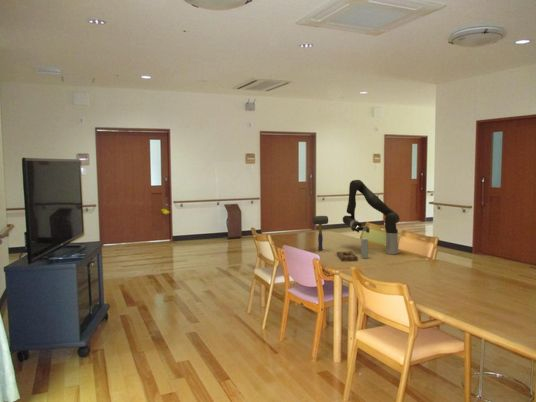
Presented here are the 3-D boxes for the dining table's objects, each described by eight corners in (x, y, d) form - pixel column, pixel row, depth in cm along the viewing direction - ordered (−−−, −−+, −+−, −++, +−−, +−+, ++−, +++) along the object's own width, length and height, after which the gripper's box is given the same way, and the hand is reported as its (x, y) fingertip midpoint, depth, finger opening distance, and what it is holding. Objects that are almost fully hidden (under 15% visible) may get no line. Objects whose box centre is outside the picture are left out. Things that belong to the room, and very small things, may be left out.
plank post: (366, 256, 333) (366, 238, 331) (367, 258, 328) (368, 239, 326) (361, 257, 333) (361, 238, 331) (362, 258, 328) (362, 239, 326)
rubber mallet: (325, 249, 363) (326, 214, 360) (328, 251, 355) (328, 216, 352) (312, 250, 360) (312, 215, 357) (314, 251, 353) (314, 216, 350)
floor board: (351, 255, 340) (351, 251, 339) (357, 260, 320) (357, 257, 320) (336, 255, 339) (336, 251, 339) (341, 261, 319) (342, 257, 319)
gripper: (348, 220, 350) (356, 226, 335) (364, 221, 353) (372, 227, 338) (347, 229, 352) (354, 235, 337) (363, 229, 355) (371, 236, 340)
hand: (363, 231), depth 337 cm, fingers open, 8 cm apart
